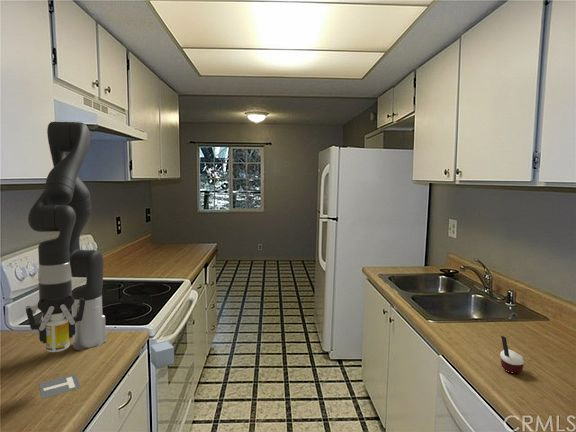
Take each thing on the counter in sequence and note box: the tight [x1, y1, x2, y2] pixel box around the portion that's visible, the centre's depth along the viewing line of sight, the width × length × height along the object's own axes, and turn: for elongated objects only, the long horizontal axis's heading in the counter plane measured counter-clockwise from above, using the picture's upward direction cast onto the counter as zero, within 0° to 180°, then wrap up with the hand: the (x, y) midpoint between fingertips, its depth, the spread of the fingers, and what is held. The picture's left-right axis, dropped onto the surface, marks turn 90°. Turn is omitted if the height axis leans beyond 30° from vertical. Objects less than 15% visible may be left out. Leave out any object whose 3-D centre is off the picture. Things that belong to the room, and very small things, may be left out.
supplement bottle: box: [45, 312, 71, 353], centre depth 103 cm, size 6×6×10 cm
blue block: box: [150, 340, 175, 370], centre depth 120 cm, size 6×6×6 cm
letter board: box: [38, 373, 82, 400], centre depth 104 cm, size 9×9×1 cm
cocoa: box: [500, 335, 525, 374], centre depth 119 cm, size 10×6×12 cm, turn 89°
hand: (57, 339), depth 103 cm, fingers closed on supplement bottle, 5 cm apart
